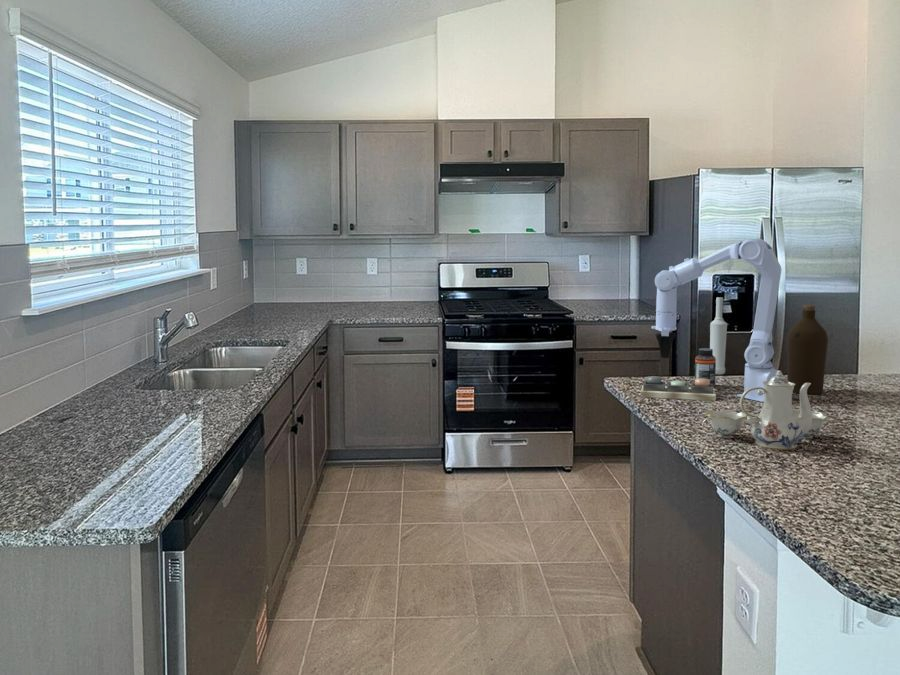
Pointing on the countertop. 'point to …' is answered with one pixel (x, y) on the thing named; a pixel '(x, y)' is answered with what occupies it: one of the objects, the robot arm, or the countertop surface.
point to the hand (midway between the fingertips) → (664, 357)
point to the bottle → (718, 337)
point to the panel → (678, 391)
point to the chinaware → (773, 417)
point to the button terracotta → (702, 382)
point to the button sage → (678, 383)
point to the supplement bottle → (705, 365)
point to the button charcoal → (654, 380)
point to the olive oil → (807, 353)
